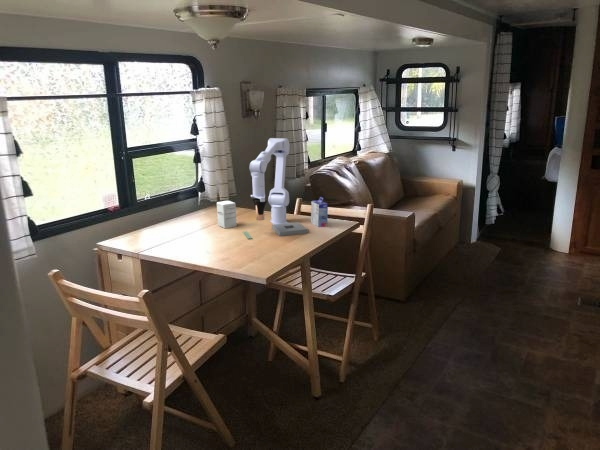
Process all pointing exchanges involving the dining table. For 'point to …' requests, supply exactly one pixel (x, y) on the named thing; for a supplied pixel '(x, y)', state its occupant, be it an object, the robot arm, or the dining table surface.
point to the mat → (247, 235)
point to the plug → (259, 217)
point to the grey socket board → (289, 229)
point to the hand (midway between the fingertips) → (259, 213)
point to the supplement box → (226, 214)
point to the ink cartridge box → (319, 213)
